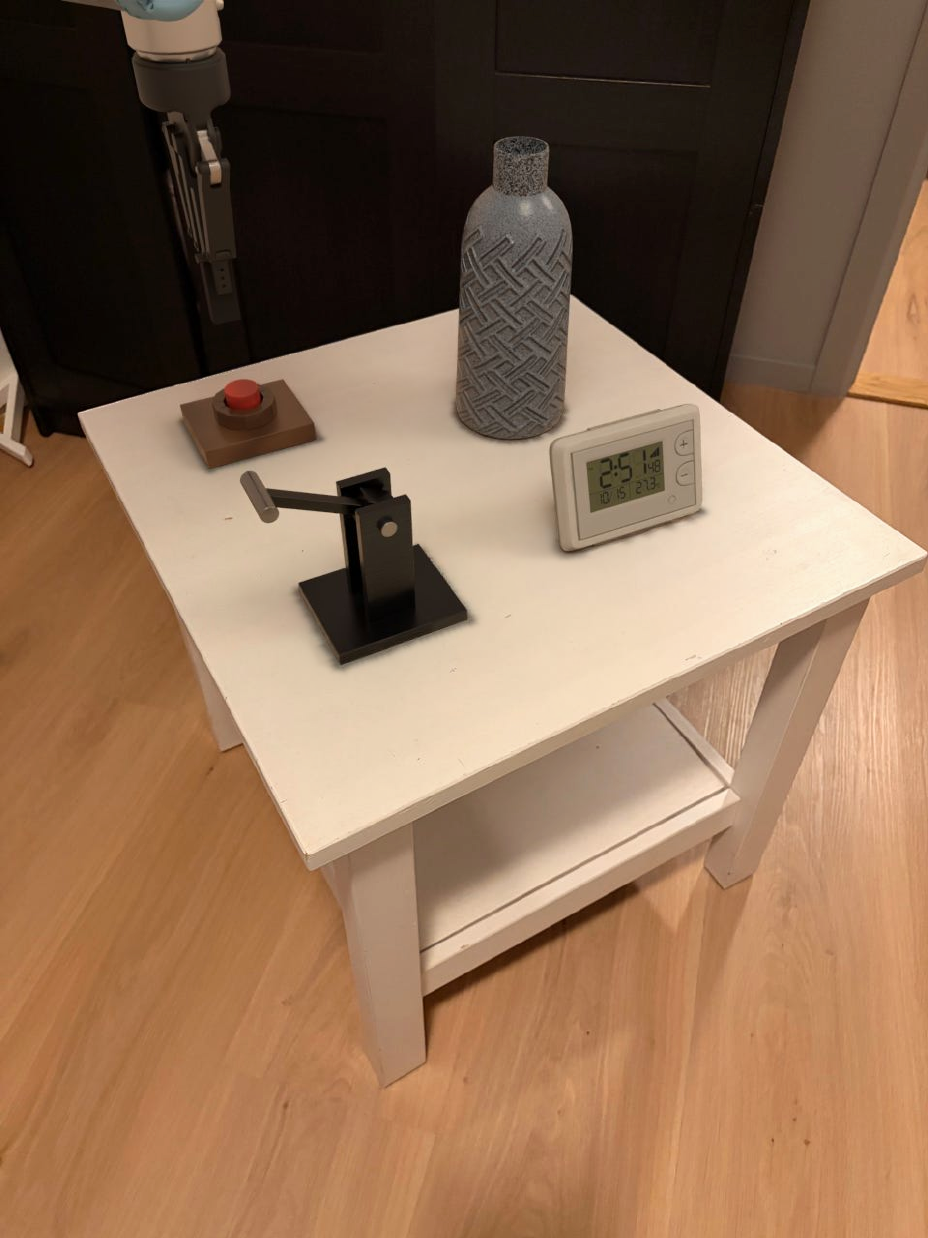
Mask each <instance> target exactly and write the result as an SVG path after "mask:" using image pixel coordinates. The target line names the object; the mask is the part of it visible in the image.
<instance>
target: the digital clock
mask: <svg viewBox="0 0 928 1238" xmlns="http://www.w3.org/2000/svg"><path fill="white" fill-rule="evenodd" d="M700 415H701V414H700V409H699V407H698V405H697V404H694V403H684V404H683V403H682V404H679V405H675V406H672V407H668V408H664V409H661V408H657V409H653V410H650V411H647V412H643V413H639V414H635V415H631V416H628V417H625V418H620V419H617V420H613V421H610V422H609V421H608V422H606V423H602V424H598V425H594V426H591V427H587V428H586V430H582V431H579V432H575V433H571V434H568V435H564V436H560V437H558V438H556V439H554V440H552V442H550V445H549V450H548V451H549V453H548V455H549V466H550V476H551V485H552V494H553V504H554V514H555V515H554V516H555V523H556V533H557V535H556V536H557V540H558V541H557V542H558V544H559V547H560V548H561V549H562V550H563V551H565V552H573V551H577V550H580V549H584V548H587V547H591V546H593V547H597V546H600V545H603V544H606V543H610V542H613V541H616V540H619V539H622V538H625V537H629V536H632V535H635V534H638V533H642V532H644V531H648V530H651V529H654V528H658V527H661V526H663V525H667V524H670V523H672V521H673V520H676V519H679V518H683V517H687V516H689V515H692V514H694V513H696V512H698V511H699V510H700V509H701V507H702V505H703V473H702V472H703V470H702V469H703V468H702V440H701V439H702V437H701V436H702V434H701V416H700Z"/></svg>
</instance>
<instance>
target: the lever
mask: <svg viewBox="0 0 928 1238" xmlns="http://www.w3.org/2000/svg"><path fill="white" fill-rule="evenodd" d="M239 484H240V485H241V487H242V489H243V490H244V492H245V494H246V496H247V497H248V499H249V501H250V503H251V505H252V506H253V508H254V510H255V511H256V514H257V515H258V517H259V519H260V520H261V522H262V523H264V524H273V523H274V522H276V521H277V520H278V519H279V517H280V510H279V509H287V510H298V511H308V512H317V513H327V514H328V513H329V514H339V515H340V514H348V515H352V516H353V517H354V519H355V520H356V516H355V509H358V508H361V507H365V506H368V505H371V504H374V503H378V502H381V501H384V500H388V499H391V498H394V497H395V496H393V494H392V495H391V493H390V492H389V491H386V490H378V489H370V488H361V487H359V489H358V492H357V494H356V497H355V498H351V497H342V496H337V495H332V494H325V493H324V494H323V493H315V492H314V493H313V492H307V491H306V492H304V491H298V490H297V491H295V490H287V489H278V488H270V487H266V486H265V485H264V483H263V481H262V480H261V478H260V477H259V475H258V473H257V472H256V471H254V470H247V471H245V472H243V473H242V474H241V475H240V476H239Z"/></svg>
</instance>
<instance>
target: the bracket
mask: <svg viewBox="0 0 928 1238" xmlns="http://www.w3.org/2000/svg"><path fill="white" fill-rule="evenodd" d="M335 487H336V496H342V497H351V498H355V497H356V494H357V492H358V489H359V487H361V488H370V489H378V490H386V491H389V492H390V493H391V495H392V496H393V494H392V479H391V472H390V471H389V470H388V468H387V467H386V466H385V467H381V468H377V469H374V470H371V471H368V472H364V473H360V474H356V475H353V476H350V477H346V478H343V479H340V480H336V481H335ZM393 497H394V498H391V499H388V500H384V501H381V502H378V503H374V504H371V505H368V506H365V507H361V508H358V509H355V516H356V520H355V519H354V517H353V516H352V515H348V514H339V522H340V530H341V538H342V548H343V555H344V556H343V557H344V565H345V567H342V568H340V569H336V570H333V571H330V572H327V573H324V574H321V575H317V576H314V577H312V578H309V579H306V580H302V581H299V582H298V583H297V585H298V590H299V591H298V592H299V594H300V595H301V597H302V599H303V601H304V603H305V604H306V606H307V608H308V609H309V612H310V613H311V616H312V617H313V619H314V620H315V622H316V624H317V626H318V627H319V630H320V631H321V633H322V635H323V636H324V638H325V640H326V642H327V644H328V645H329V647H330V649H331V651H332V653H333V655H334V656H335V658H336V660H337V661H338V664H339V665H340V666H341V665H344V664H347V663H350V662H351V661H355V660H358V659H361V658H364V657H366V656H369V655H373V654H375V653H377V652H380V651H382V650H386V649H388V648H391V647H394V646H397V645H400V644H403V643H405V642H407V641H411V640H413V639H416V638H419V637H422V636H425V635H427V634H430V633H433V632H436V631H438V630H441V629H444V628H447V627H450V626H453V625H455V624H458V623H460V622H461V623H462V622H463V621H466V620H468V609H467V607H466V606H465V605H464V603H462V601H461V600H460V598H459V596H458V595H457V594H456V593H455V591H454V590H453V589H452V587H451V585H449V583H448V581H447V580H446V578H444V576H443V574H442V573H441V572H440V571H439V569H438V567H436V565H435V564H434V563H433V561H432V560H431V558H430V557H429V556H428V554H427V553H426V552H425V550H424V548H423V547H422V546H421V545H420V543H416V544H413V542H414V541H413V521H412V520H413V519H412V517H413V516H412V501H411V499H410V498H409V496H408V495H407V494H406V493H404V494H401V495H398V496H393Z"/></svg>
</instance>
